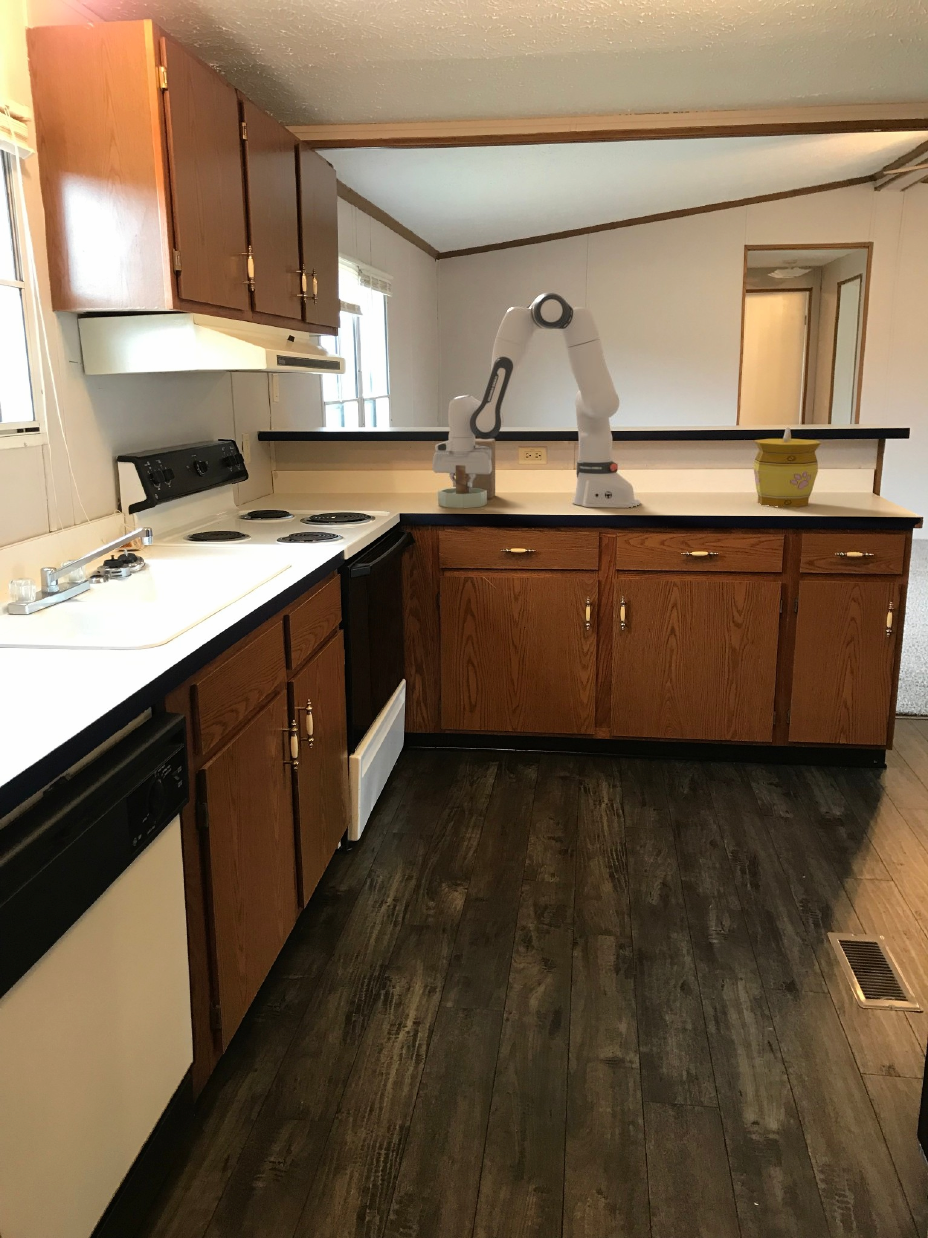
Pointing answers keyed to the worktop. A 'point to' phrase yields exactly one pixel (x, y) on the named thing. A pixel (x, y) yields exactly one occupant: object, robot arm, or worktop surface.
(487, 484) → the wooden block
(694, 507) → the worktop surface
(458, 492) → the wooden rectangular beam
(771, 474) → the container
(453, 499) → the octagonal green tray
